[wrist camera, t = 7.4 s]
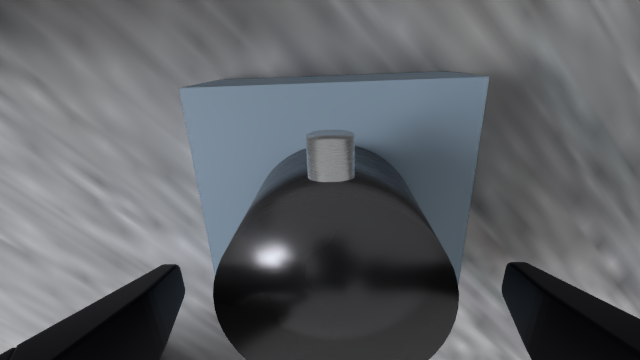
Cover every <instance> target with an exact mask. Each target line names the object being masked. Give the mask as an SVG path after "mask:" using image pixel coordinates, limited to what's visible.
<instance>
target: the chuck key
mask: <svg viewBox="0 0 640 360" xmlns="http://www.w3.org/2000/svg"><path fill="white" fill-rule="evenodd" d="M213 298H214V306H215V311H216V314H217V318H218V321H219V323H220V325H221V328H222V330H223V332H224V333H225V335H226V337H227V338H228V340H229V341H230V343H231V344H232V345H233V346H234V347H235V349H236V350H237V351H238V352H239V353H240V354H241V355H242V356H243V357H244V358H245V359H246V360H429V359H430V358H431V357H432V356H433V355H434V354H435V353H436V352H437V351H438V349H439V348H440V347H441V346H442V345H443V343H444V342H445V340H446V338H447V337H448V335H449V333H450V332H451V329H452V327H453V324H454V322H455V319H456V315H457V310H458V301H459V291H458V282H457V278H456V275H455V271H454V268H453V266H452V264H451V262H450V260H449V257H448V255H447V254H446V252H445V250H444V248H443V247H442V245H441V243H440V241H439V240H438V238H437V236H436V234H435V233H434V231H433V229H432V228H431V226H430V224H429V222H428V221H427V219H426V217H425V215H424V214H423V212H422V210H421V208H420V207H419V205H418V203H417V201H416V200H415V198H414V196H413V194H412V193H411V191H410V189H409V187H408V186H407V184H406V182H405V181H404V179H403V178H402V176H401V175H400V173H399V172H398V171H397V170H396V169H395V168H394V167H393V166H392V165H391V164H390V163H389V162H387V161H386V160H385V159H384V158H382V157H380V156H379V155H377V154H375V153H373V152H371V151H369V150H367V149H364V148H361V147H357V146H355V134H354V133H353V132H351V131H346V130H320V131H314V132H311V133H308V134H307V135H306V148H305V149H302V150H299V151H297V152H295V153H294V154H292V155H290V156H288V157H287V158H285V159H284V160H283V161H281V162H280V163H279V164H278V165H277V166H276V167H275V168H274V169H273V170H272V171H271V172H270V174H269V175H268V176H267V177H266V179H265V181H264V183H263V184H262V186H261V188H260V190H259V191H258V193H257V195H256V197H255V199H254V200H253V202H252V204H251V206H250V208H249V209H248V211H247V213H246V215H245V216H244V218H243V220H242V222H241V224H240V225H239V227H238V229H237V231H236V233H235V234H234V236H233V238H232V240H231V242H230V243H229V245H228V247H227V249H226V251H225V252H224V254H223V256H222V258H221V260H220V263H219V265H218V268H217V270H216V275H215V280H214V289H213Z"/></svg>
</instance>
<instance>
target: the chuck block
mask: <svg viewBox="0 0 640 360" xmlns="http://www.w3.org/2000/svg"><path fill="white" fill-rule="evenodd" d="M488 83H489V77H488V76H480V75H472V74H464V73H456V72H448V71H441V72H415V73H388V74H362V75H336V76H309V77H283V78H256V79H230V80H217V81H212V82H207V83H202V84H197V85H192V86H187V87H182V88H179V92H180V97H181V102H182V107H183V112H184V117H185V123H186V128H187V133H188V138H189V143H190V148H191V154H192V159H193V164H194V169H195V174H196V179H197V185H198V190H199V195H200V200H201V205H202V210H203V215H204V221H205V226H206V231H207V236H208V241H209V246H210V252H211V257H212V262H213V267H214V272H215V275H216V270H217V268H218V265H219V263H220V260H221V258H222V256H223V254H224V252H225V251H226V249H227V247H228V245H229V243H230V242H231V240H232V238H233V236H234V234H235V233H236V231H237V229H238V227H239V225H240V224H241V222H242V220H243V218H244V216H245V215H246V213H247V211H248V209H249V208H250V206H251V204H252V202H253V200H254V199H255V197H256V195H257V193H258V191H259V190H260V188H261V186H262V184H263V183H264V181H265V179H266V177H267V176H268V175H269V174H270V172H271V171H272V170H273V169H274V168H275V167H276V166H277V165H278V164H279V163H280V162H281V161H283V160H284V159H285V158H287V157H288V156H290V155H292V154H294V153H295V152H297V151H299V150H302V149H305V148H306V135H307V134H308V133H311V132H314V131H320V130H346V131H351V132H353V133H354V134H355V146H357V147H361V148H364V149H367V150H369V151H371V152H373V153H375V154H377V155H379V156H380V157H382V158H384V159H385V160H386V161H387V162H389V163H390V164H391V165H392V166H393V167H394V168H395V169H396V170H397V171H398V172H399V173H400V175H401V176H402V178H403V179H404V181H405V182H406V184H407V186H408V187H409V189H410V191H411V193H412V194H413V196H414V198H415V200H416V201H417V203H418V205H419V207H420V208H421V210H422V212H423V214H424V215H425V217H426V219H427V221H428V222H429V224H430V226H431V228H432V229H433V231H434V233H435V234H436V236H437V238H438V240H439V241H440V243H441V245H442V247H443V248H444V250H445V252H446V254H447V255H448V257H449V260H450V262H451V264H452V266H453V268H454V271H455V275H456V278H457V282H458V283H459V276H460V270H461V263H462V256H463V250H464V243H465V236H466V230H467V223H468V216H469V210H470V203H471V196H472V190H473V183H474V176H475V170H476V163H477V156H478V150H479V143H480V136H481V130H482V123H483V116H484V110H485V103H486V96H487V90H488Z"/></svg>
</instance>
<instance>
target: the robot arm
mask: <svg viewBox="0 0 640 360" xmlns="http://www.w3.org/2000/svg"><path fill="white" fill-rule="evenodd" d="M502 294H503V297H504V300H505V302H506V304H507V307H508V309H509V311H510V313H511V316H512V318H513V320H514V323H515V325H516V327H517V329H518V332H519V334H520V336H521V339H522V341H523V343H524V345H525V347H526V349H527V352H528V353H529V355H530V357H531V359H532V360H640V319H639V318H637V317H635V316H633V315H631V314H629V313H627V312H625V311H622V310H620V309H618V308H616V307H614V306H612V305H610V304H608V303H606V302H604V301H602V300H600V299H598V298H596V297H594V296H592V295H590V294H588V293H586V292H584V291H582V290H580V289H578V288H576V287H574V286H572V285H570V284H568V283H566V282H564V281H562V280H560V279H558V278H556V277H554V276H552V275H550V274H548V273H546V272H544V271H542V270H540V269H538V268H536V267H534V266H532V265H530V264H528V263H526V262H510V263H508V264H507V266H506V269H505V274H504V279H503V283H502ZM184 295H185V286H184V282H183V278H182V274H181V270H180V267H179V266H178V265H176V264H164V265H161V266H159V267H158V268H156V269H154V270H152V271H150V272H149V273H147V274H145V275H143V276H141V277H140V278H138V279H136V280H134V281H132V282H131V283H129V284H127V285H125V286H123V287H121V288H120V289H118V290H116V291H114V292H112V293H111V294H109V295H107V296H105V297H103V298H102V299H100V300H98V301H96V302H94V303H93V304H91V305H89V306H87V307H85V308H84V309H82V310H80V311H78V312H76V313H75V314H73V315H71V316H69V317H67V318H66V319H64V320H62V321H60V322H58V323H57V324H55V325H53V326H51V327H49V328H48V329H46V330H44V331H42V332H40V333H39V334H37V335H35V336H33V337H31V338H30V339H28V340H26V341H24V342H22V343H21V344H19V345H17V347H16V348H11V349H9V350H8V351H6V352H4V353H2V354H1V355H0V360H159V359H160V357H161V355H162V353H163V351H164V348H165V346H166V343H167V341H168V338H169V336H170V333H171V330H172V328H173V325H174V322H175V320H176V317H177V314H178V312H179V309H180V306H181V304H182V301H183V298H184Z"/></svg>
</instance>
